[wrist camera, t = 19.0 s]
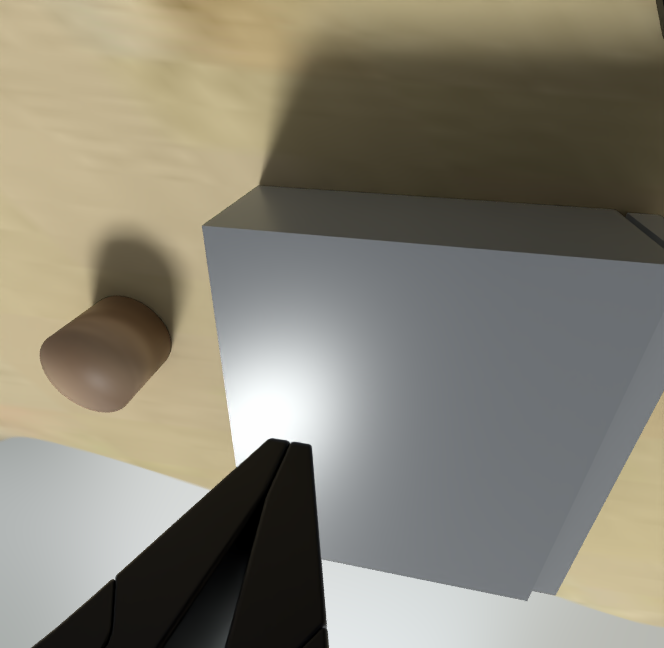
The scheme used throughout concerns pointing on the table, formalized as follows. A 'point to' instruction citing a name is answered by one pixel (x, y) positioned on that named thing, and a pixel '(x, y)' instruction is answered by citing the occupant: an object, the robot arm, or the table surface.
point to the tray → (611, 442)
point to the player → (432, 365)
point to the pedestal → (106, 353)
